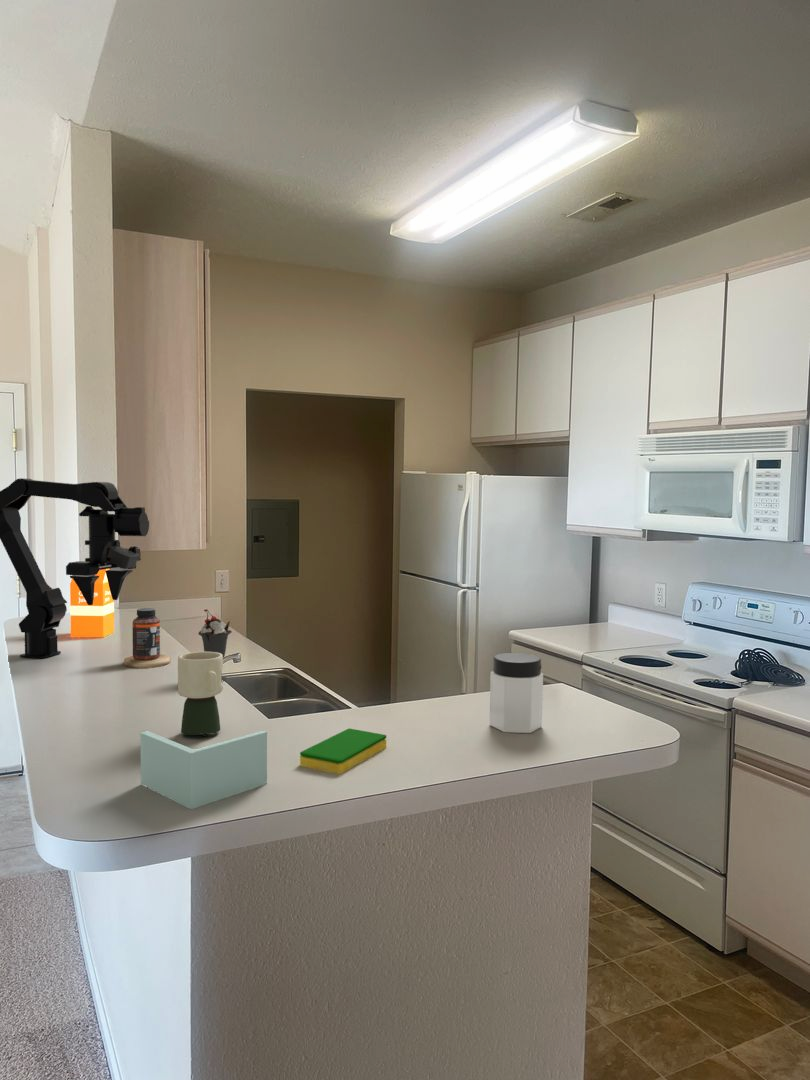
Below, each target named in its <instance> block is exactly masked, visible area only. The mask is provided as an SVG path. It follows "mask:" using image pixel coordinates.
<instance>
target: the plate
mask: <svg viewBox="0 0 810 1080" xmlns="http://www.w3.org/2000/svg"><path fill="white" fill-rule="evenodd" d="M170 663H171V657H170V656H169V655H167V654H161V653H160V656H159V657H158V658H157V659H153V660H136V659H134V658H133V655H131V656H128V657H126V658H124V659H123V665H124V666H125V667H127V668H135V669H149V668H158V667H164V666H167V665H169V664H170Z"/></svg>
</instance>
